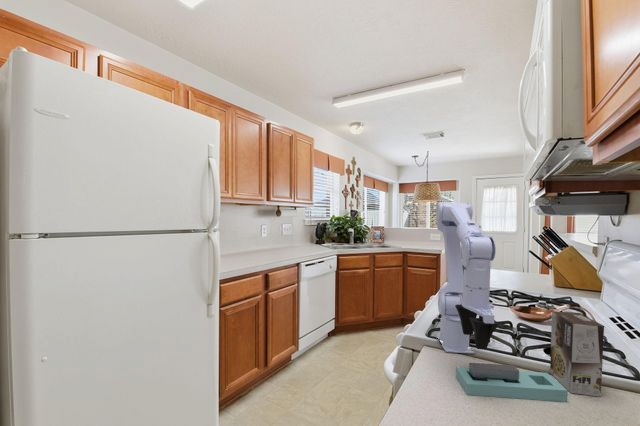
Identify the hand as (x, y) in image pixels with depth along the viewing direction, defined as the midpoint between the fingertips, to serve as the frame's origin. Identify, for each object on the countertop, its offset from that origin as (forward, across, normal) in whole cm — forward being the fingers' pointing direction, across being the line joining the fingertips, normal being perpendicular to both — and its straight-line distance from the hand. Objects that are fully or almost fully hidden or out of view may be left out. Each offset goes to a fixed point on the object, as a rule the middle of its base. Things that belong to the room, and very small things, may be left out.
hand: (474, 341), depth 74 cm
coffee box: (+10, 0, -24) cm, 25 cm away
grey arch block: (+9, -4, -3) cm, 10 cm away
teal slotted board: (+9, -4, -6) cm, 12 cm away
